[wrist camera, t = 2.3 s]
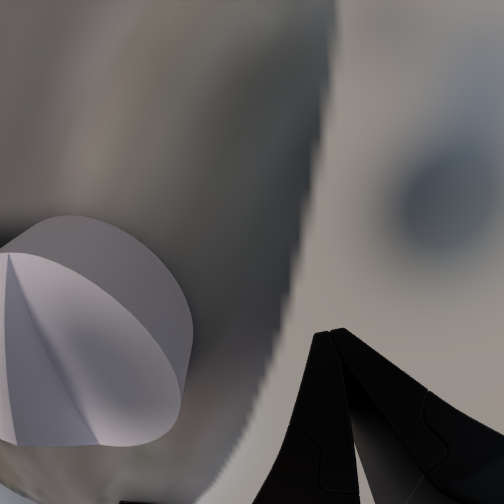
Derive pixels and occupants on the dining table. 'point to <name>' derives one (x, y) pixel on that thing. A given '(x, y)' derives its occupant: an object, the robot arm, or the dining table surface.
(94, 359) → the wedge on round base
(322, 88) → the dining table surface
